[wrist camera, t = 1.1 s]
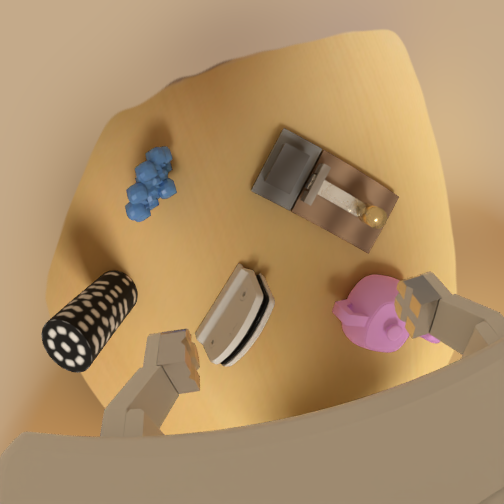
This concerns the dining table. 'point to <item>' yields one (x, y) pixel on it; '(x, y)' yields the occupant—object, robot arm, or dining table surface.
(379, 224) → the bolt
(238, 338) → the light grey rounded piece
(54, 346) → the white-spotted black cylinder
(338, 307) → the teapot
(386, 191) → the door board
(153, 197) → the grapes
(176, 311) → the dining table surface
